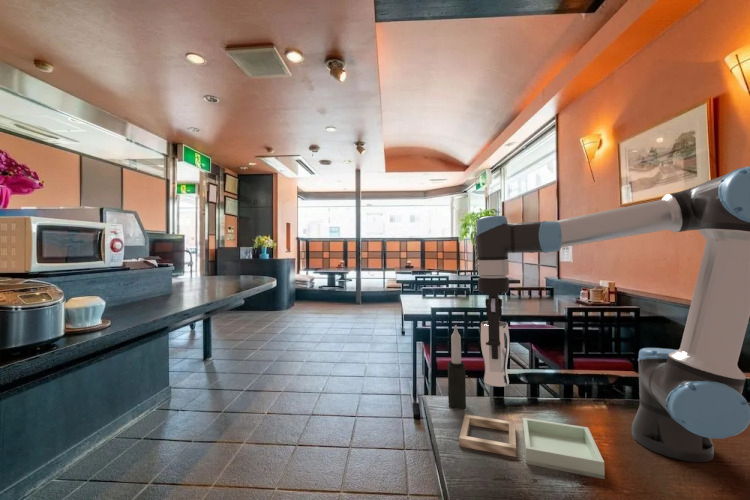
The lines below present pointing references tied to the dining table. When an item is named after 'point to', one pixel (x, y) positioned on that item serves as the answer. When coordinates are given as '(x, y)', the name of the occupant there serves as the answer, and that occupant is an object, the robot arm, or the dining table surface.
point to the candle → (456, 374)
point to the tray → (562, 448)
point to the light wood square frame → (488, 444)
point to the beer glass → (501, 377)
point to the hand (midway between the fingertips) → (495, 366)
